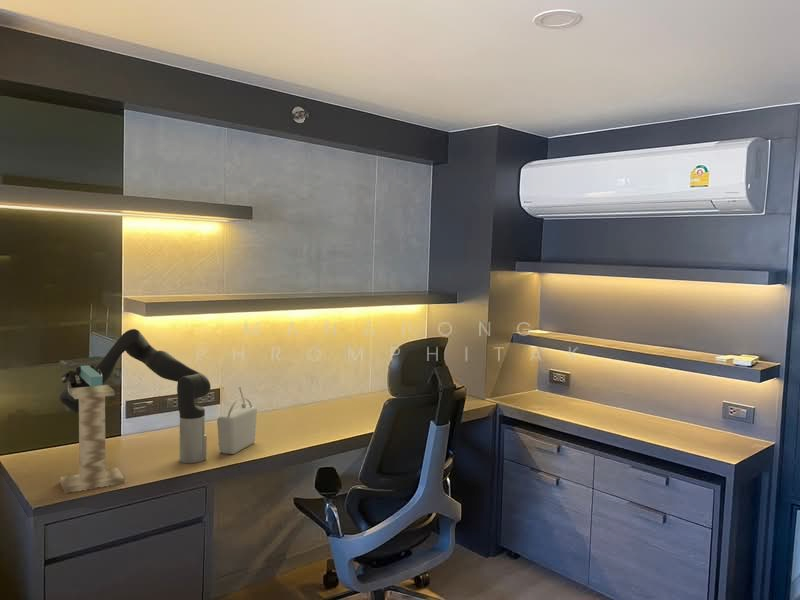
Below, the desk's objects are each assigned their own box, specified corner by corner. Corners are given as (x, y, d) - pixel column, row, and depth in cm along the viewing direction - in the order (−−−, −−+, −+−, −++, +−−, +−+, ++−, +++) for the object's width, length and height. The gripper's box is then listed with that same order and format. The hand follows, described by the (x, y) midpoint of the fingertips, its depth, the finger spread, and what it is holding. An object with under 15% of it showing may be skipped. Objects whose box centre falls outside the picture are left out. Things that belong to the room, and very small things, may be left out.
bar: (88, 373, 219) (88, 365, 219) (102, 385, 198) (102, 376, 198) (78, 374, 217) (77, 366, 217) (90, 386, 196) (90, 377, 196)
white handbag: (240, 439, 261) (241, 383, 260) (258, 441, 259) (258, 384, 258) (212, 454, 240) (213, 392, 239) (231, 456, 238) (231, 394, 237)
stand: (117, 473, 217) (116, 384, 215) (124, 483, 207) (124, 390, 205) (60, 482, 206) (59, 389, 204) (65, 493, 196) (64, 395, 195)
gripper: (57, 377, 223) (62, 359, 210) (99, 374, 231) (106, 357, 219) (59, 396, 220) (64, 380, 208) (101, 392, 229) (109, 376, 216)
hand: (86, 368), depth 213 cm, fingers closed on bar, 3 cm apart
